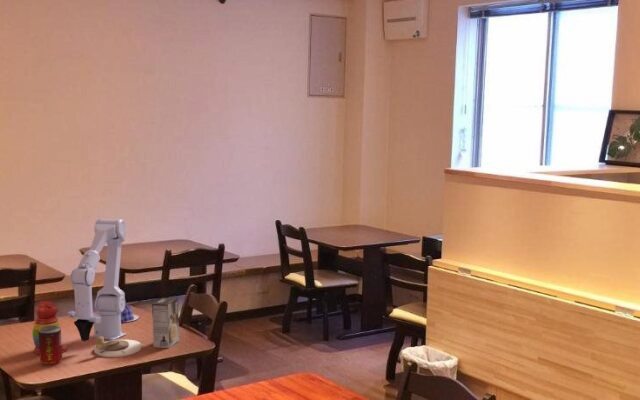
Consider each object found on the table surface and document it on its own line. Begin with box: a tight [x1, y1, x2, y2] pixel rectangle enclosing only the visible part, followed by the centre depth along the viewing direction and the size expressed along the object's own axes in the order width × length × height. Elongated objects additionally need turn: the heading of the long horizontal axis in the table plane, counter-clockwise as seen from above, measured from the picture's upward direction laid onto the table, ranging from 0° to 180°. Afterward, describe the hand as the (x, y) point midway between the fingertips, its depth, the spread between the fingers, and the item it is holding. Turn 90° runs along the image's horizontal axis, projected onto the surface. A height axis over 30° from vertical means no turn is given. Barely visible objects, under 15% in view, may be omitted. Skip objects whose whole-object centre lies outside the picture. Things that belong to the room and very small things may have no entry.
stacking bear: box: [32, 300, 68, 356], centre depth 269 cm, size 11×10×18 cm
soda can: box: [38, 326, 63, 367], centre depth 256 cm, size 7×7×12 cm
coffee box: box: [151, 297, 180, 349], centre depth 276 cm, size 9×6×16 cm
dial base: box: [93, 339, 142, 358], centre depth 271 cm, size 16×16×1 cm
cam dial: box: [95, 336, 129, 351], centre depth 268 cm, size 13×9×5 cm
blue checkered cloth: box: [121, 305, 140, 323], centre depth 309 cm, size 12×12×5 cm
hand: (85, 340), depth 267 cm, fingers closed
